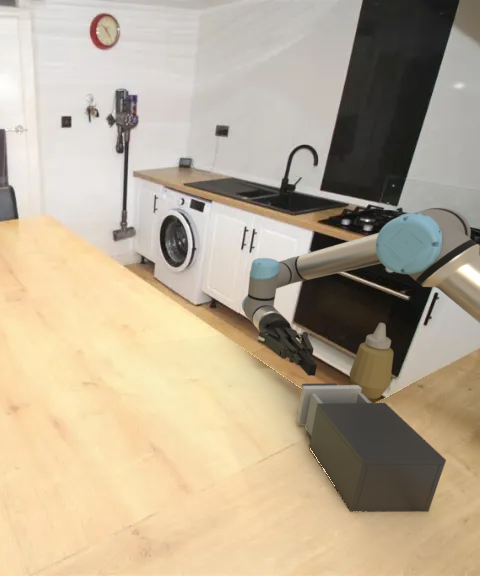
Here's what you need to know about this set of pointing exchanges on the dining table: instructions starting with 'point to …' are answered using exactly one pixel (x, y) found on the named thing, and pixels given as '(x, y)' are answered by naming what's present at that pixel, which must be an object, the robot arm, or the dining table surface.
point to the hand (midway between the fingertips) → (312, 370)
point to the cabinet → (375, 457)
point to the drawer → (325, 399)
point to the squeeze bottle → (373, 364)
